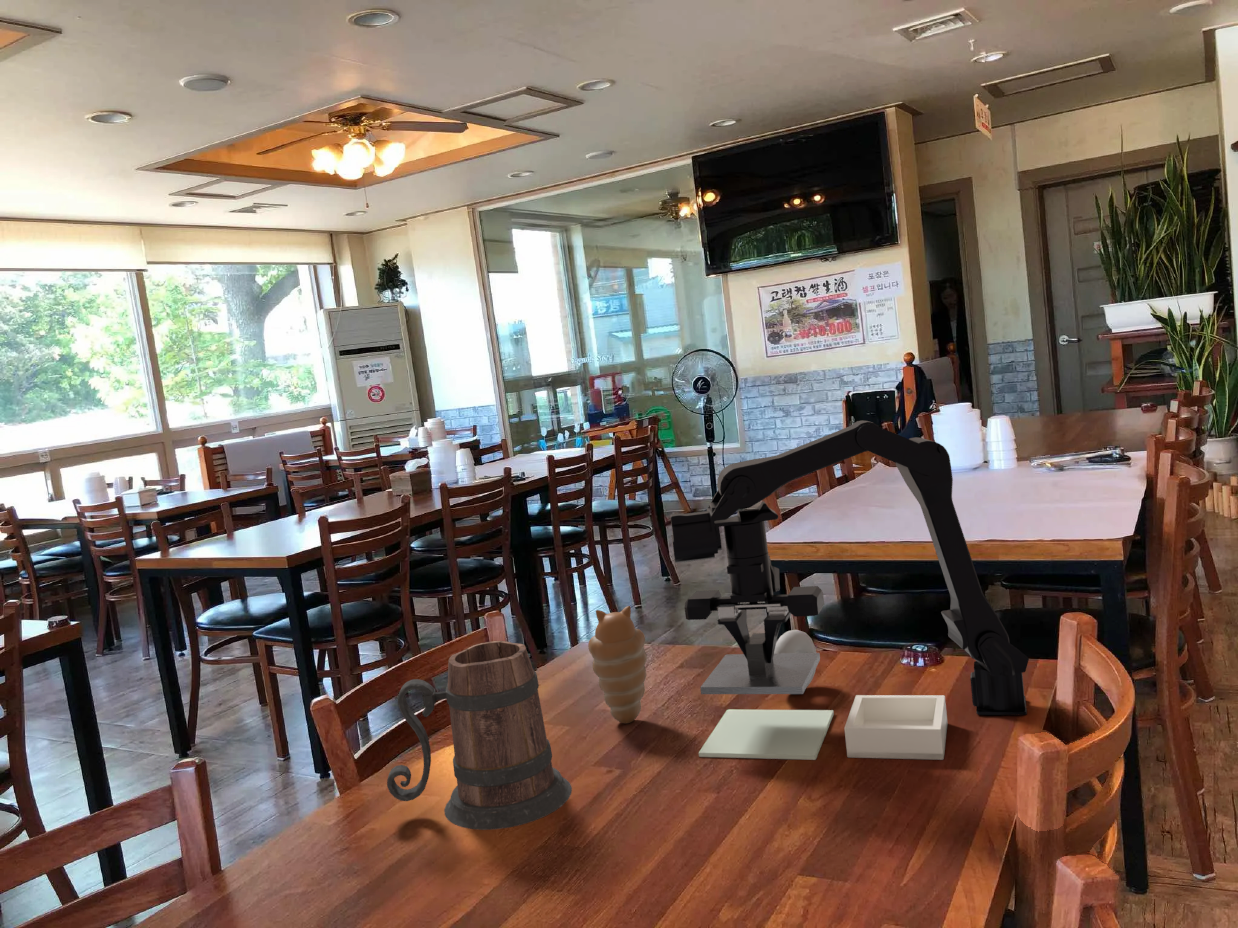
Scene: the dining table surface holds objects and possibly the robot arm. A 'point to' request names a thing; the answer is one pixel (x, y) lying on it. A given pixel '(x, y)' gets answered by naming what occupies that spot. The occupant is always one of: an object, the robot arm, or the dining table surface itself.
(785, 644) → the donut
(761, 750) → the mat
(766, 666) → the lid
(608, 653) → the cat ice cream
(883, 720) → the dish
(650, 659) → the dining table surface
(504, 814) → the tankard
